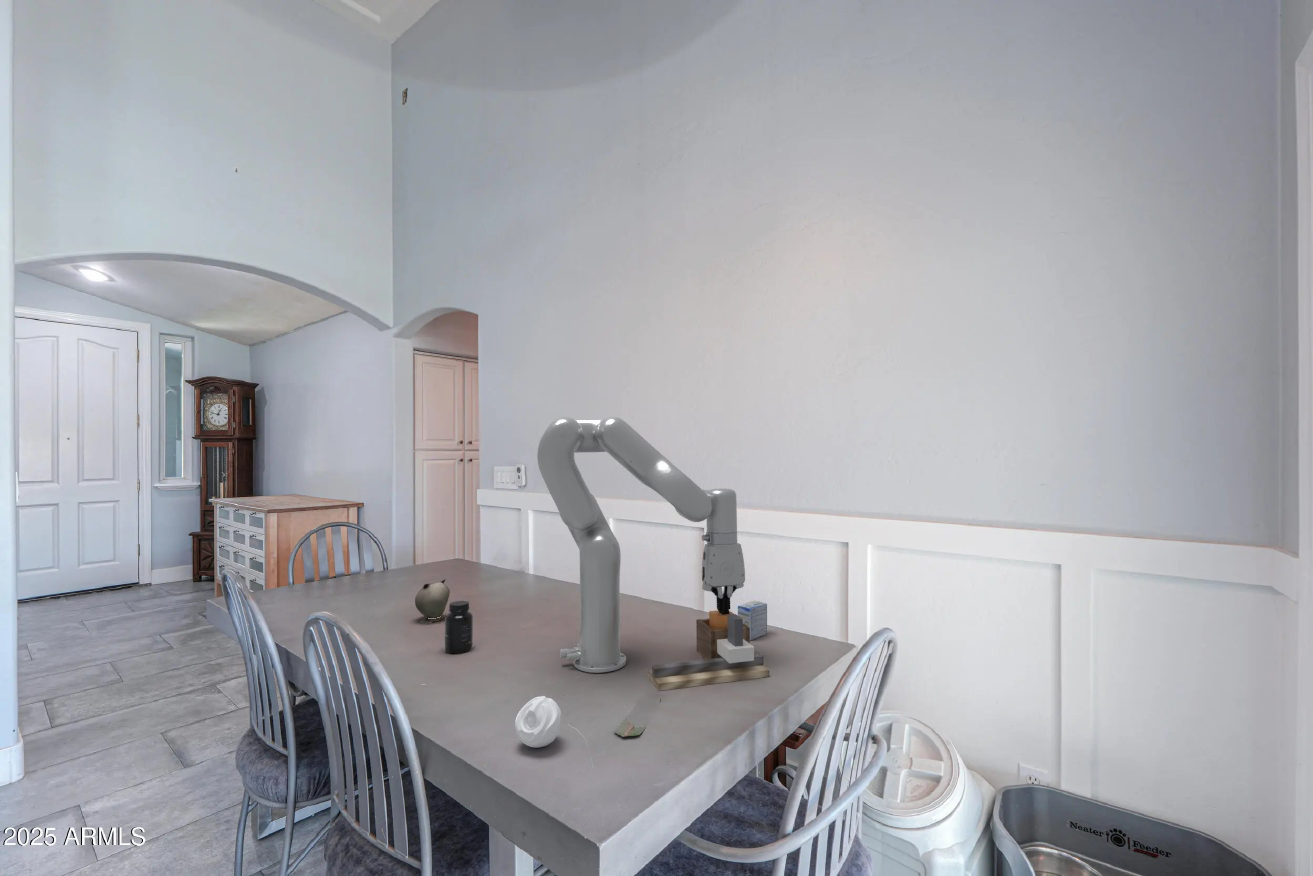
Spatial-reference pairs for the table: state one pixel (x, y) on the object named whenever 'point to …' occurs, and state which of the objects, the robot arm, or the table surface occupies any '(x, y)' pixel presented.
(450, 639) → the supplement bottle
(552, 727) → the white carved ovoid
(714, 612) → the plunger
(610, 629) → the robot arm
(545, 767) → the table surface
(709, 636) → the brown wooden box
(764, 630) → the medicine box
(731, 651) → the carriage
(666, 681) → the rail base
